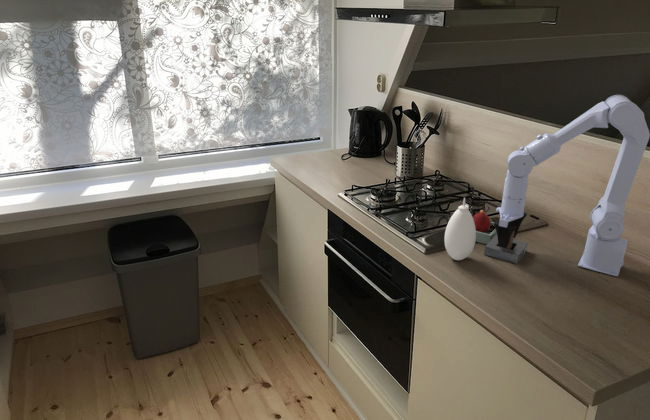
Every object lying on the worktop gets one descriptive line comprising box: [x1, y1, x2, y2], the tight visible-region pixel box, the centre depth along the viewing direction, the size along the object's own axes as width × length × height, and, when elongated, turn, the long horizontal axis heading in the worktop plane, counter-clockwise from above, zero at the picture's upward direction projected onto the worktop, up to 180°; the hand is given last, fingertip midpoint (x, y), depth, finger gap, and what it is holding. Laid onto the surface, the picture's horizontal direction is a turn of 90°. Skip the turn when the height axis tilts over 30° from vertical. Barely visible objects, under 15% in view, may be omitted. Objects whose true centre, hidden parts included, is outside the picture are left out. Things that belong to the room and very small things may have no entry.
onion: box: [472, 209, 492, 233], centre depth 151 cm, size 6×6×8 cm
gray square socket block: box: [483, 235, 529, 265], centre depth 142 cm, size 9×9×2 cm
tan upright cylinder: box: [507, 230, 515, 250], centre depth 141 cm, size 3×3×7 cm
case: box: [475, 221, 497, 245], centre depth 152 cm, size 10×10×3 cm
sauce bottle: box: [444, 197, 476, 261], centre depth 135 cm, size 8×8×18 cm
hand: (507, 241), depth 141 cm, fingers open, 7 cm apart
